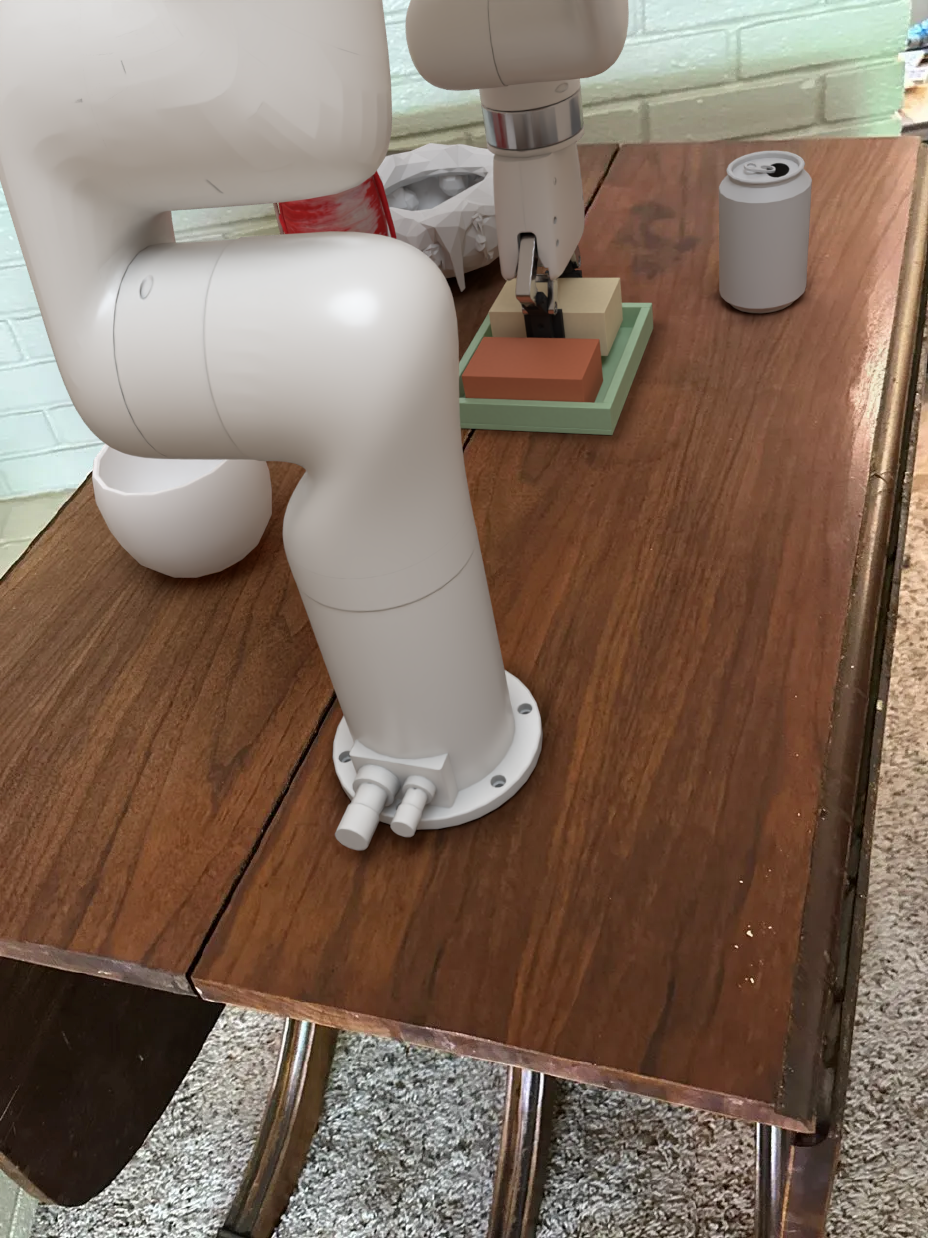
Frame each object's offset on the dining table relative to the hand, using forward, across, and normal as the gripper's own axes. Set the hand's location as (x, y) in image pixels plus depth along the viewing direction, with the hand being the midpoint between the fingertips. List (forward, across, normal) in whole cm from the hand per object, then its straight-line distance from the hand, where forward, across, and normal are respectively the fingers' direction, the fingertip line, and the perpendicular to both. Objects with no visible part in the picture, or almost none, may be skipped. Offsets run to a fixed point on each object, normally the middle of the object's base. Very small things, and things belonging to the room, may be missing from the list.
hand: (557, 330), depth 94 cm
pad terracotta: (+2, +8, 0) cm, 8 cm away
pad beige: (+1, 0, 0) cm, 1 cm away
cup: (+3, +29, -20) cm, 36 cm away
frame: (+2, +3, 0) cm, 4 cm away
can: (+3, -11, +16) cm, 19 cm away
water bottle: (+3, +9, -15) cm, 18 cm away
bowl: (+3, -17, -17) cm, 24 cm away
